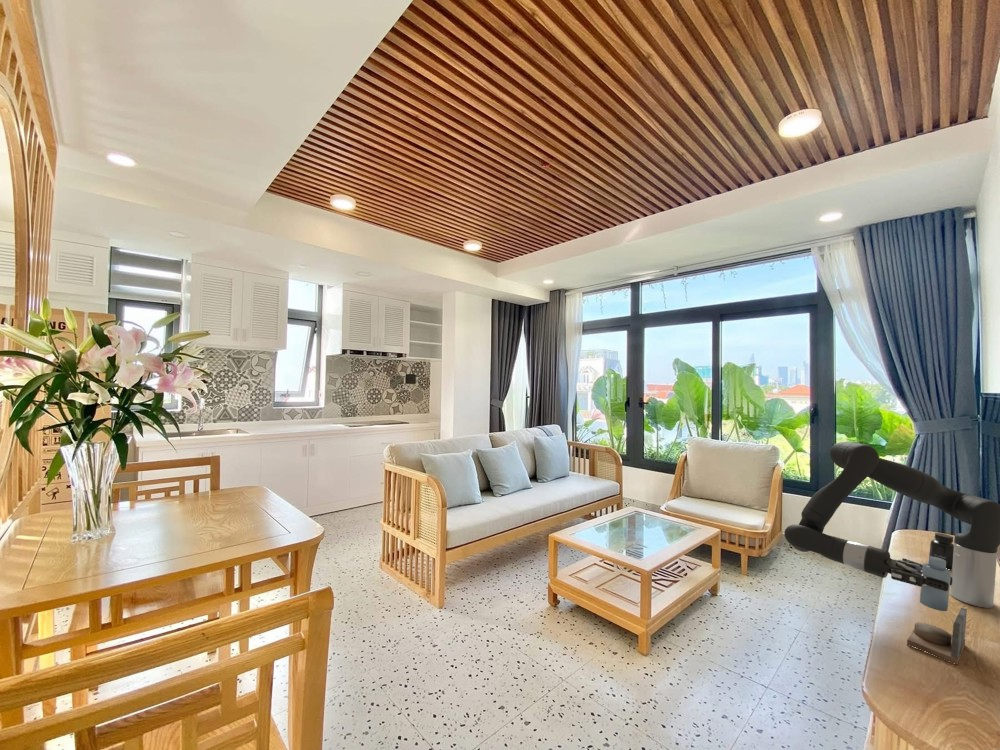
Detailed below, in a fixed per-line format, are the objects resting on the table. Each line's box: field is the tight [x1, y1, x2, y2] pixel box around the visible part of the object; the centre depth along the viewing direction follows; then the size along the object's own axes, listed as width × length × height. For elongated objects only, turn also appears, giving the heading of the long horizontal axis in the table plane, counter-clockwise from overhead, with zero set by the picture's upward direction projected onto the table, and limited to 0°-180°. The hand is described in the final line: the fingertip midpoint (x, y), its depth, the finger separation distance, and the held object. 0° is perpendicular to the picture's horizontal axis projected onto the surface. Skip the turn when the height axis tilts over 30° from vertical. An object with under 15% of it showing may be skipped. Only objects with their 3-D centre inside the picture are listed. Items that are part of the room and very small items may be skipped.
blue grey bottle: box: [919, 555, 952, 612], centre depth 113 cm, size 5×5×12 cm
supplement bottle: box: [928, 532, 954, 569], centre depth 162 cm, size 7×7×12 cm
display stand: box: [906, 607, 968, 665], centre depth 112 cm, size 14×9×10 cm, turn 127°
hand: (949, 584), depth 111 cm, fingers closed on blue grey bottle, 5 cm apart
